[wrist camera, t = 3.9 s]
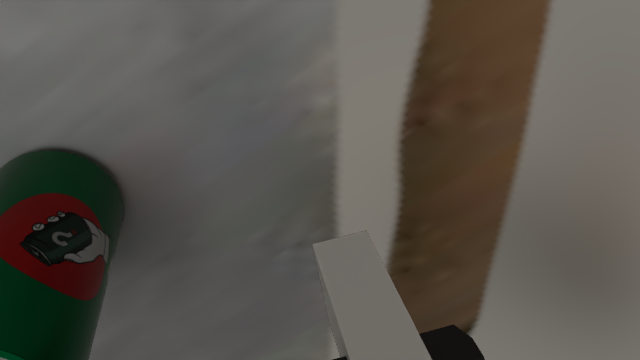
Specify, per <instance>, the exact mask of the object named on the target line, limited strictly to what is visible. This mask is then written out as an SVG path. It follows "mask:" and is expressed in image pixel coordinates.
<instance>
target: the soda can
mask: <svg viewBox="0 0 640 360" xmlns="http://www.w3.org/2000/svg"><path fill="white" fill-rule="evenodd" d="M123 217H124V206H123V200H122V197H121V194H120V191H119V190H118V188H117V186H116V184H115V183H114V181H113V180H112V179H111V177H110V176H109V175H108V174H107V173H106V172H105V171H104V170H102V169H101V168H100V167H98V166H97V165H96V164H94V163H92V162H90V161H89V160H87V159H85V158H82V157H80V156H77V155H74V154H70V153H66V152H60V151H38V152H32V153H28V154H25V155H22V156H19V157H17V158H15V159H13V160H11V161H10V162H8V163H7V164H6V165H4V166H3V167H2V168H1V169H0V360H88V359H89V355H90V351H91V347H92V343H93V339H94V335H95V331H96V327H97V323H98V319H99V315H100V311H101V307H102V303H103V299H104V295H105V290H106V286H107V282H108V278H109V274H110V270H111V266H112V262H113V258H114V254H115V250H116V246H117V242H118V238H119V234H120V230H121V226H122V222H123Z"/></svg>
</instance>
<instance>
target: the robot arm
mask: <svg viewBox="0 0 640 360" xmlns="http://www.w3.org/2000/svg"><path fill="white" fill-rule="evenodd" d="M312 246H313V250H314V255H315V259H316V264H317V268H318V273H319V278H320V282H321V287H322V291H323V296H324V300H325V305H326V310H327V314H328V319H329V322H330V326H331V329H332V332H333V335H334V339H335V342H336V345H337V348H338V352H339V355H340V358H337V359H333V360H485V359H484V356H483V355H482V353H481V351H480V350H479V348H478V347H477V345H476V343H475V342H474V340H473V339H472V338H471V337H470V336H469V335H467V334H466V333H464V332H463V331H462V330H460V329H459V328H458V327H456V326H455V325H450V326H446V327H443V328H439V329H436V330H432V331H429V332H425V333H421V334H419V333H418V331H417V329H416V327H415V325H414V323H413V321H412V319H411V317H410V315H409V313H408V311H407V309H406V307H405V306H404V304H403V302H402V300H401V298H400V296H399V294H398V292H397V290H396V288H395V286H394V284H393V282H392V280H391V278H390V276H389V274H388V272H387V270H386V268H385V266H384V264H383V262H382V260H381V258H380V256H379V254H378V252H377V250H376V248H375V247H374V244H373V243H372V241H371V239H370V237H369V235H368V233H367V231H361V232H358V233H354V234H350V235H346V236H342V237H338V238H334V239H331V240H327V241H323V242H319V243H315V244H312Z"/></svg>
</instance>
